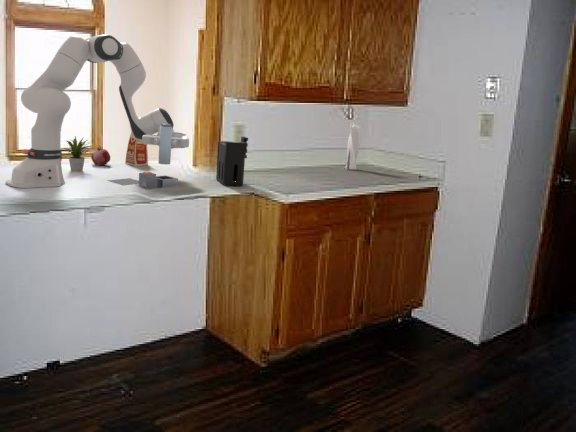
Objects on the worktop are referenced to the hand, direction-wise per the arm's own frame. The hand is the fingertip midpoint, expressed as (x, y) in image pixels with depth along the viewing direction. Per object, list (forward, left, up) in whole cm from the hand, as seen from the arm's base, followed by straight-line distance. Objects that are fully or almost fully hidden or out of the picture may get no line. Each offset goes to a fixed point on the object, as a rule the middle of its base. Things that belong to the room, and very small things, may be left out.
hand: (165, 142), depth 253 cm
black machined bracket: (+36, -5, -20) cm, 41 cm away
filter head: (-3, +1, -19) cm, 20 cm away
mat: (-10, +13, -19) cm, 25 cm away
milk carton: (+26, +55, -20) cm, 64 cm away
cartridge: (0, +1, -9) cm, 9 cm away
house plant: (-13, +48, -20) cm, 53 cm away
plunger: (-8, +1, -14) cm, 17 cm away
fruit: (+7, +59, -20) cm, 62 cm away
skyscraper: (+137, -5, -20) cm, 138 cm away
